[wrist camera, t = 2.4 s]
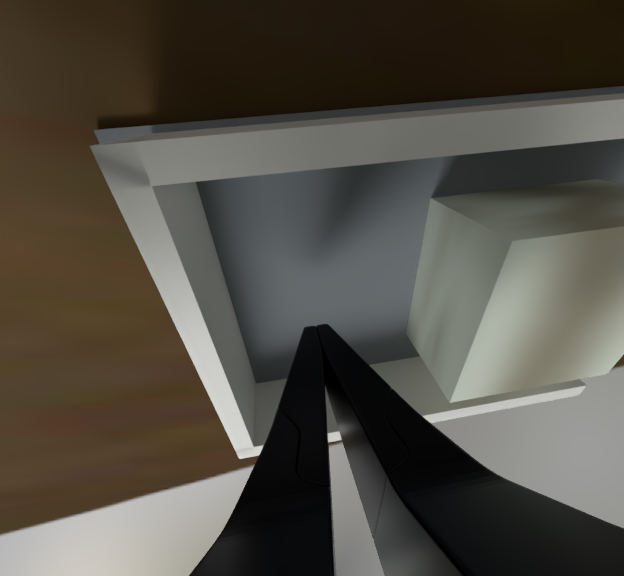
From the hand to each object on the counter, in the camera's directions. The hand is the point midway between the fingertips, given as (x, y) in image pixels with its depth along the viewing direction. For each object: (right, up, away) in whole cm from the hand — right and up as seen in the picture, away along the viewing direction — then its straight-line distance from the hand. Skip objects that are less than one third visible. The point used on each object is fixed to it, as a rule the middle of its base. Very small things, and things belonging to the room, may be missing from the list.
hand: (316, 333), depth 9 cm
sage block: (+8, +3, +3) cm, 9 cm away
